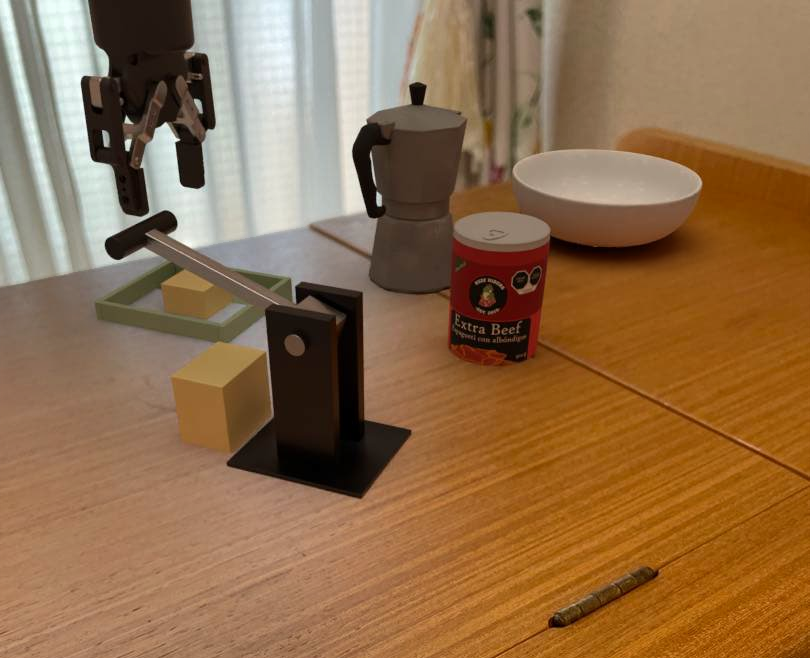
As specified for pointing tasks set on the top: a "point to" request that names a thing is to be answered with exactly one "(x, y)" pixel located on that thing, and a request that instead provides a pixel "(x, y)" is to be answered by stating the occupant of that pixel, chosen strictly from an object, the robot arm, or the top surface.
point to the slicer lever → (203, 265)
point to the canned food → (497, 287)
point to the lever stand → (319, 400)
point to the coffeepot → (411, 191)
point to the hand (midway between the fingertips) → (165, 200)
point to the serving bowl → (605, 195)
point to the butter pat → (193, 296)
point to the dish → (119, 312)
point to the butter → (222, 396)
